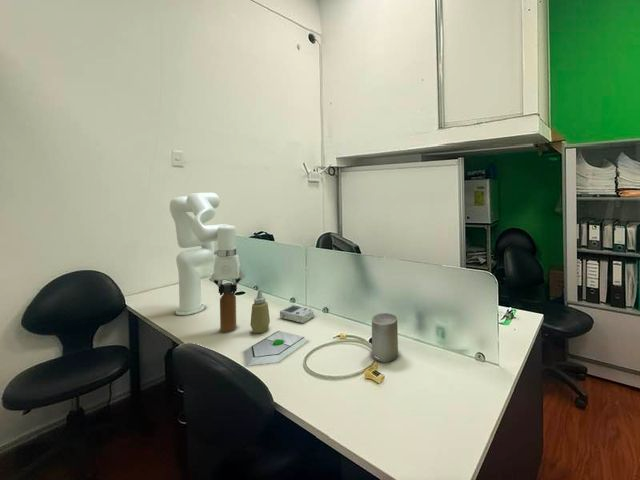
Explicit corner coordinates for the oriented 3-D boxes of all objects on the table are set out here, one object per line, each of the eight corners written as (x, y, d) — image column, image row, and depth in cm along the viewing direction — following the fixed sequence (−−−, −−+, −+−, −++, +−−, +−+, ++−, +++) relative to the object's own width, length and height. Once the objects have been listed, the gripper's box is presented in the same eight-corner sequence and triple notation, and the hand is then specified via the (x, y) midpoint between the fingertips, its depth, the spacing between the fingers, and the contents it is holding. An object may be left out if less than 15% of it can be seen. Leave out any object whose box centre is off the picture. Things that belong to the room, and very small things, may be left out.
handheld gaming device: (302, 324, 137) (302, 315, 137) (279, 318, 144) (279, 310, 144) (315, 317, 145) (315, 309, 145) (292, 311, 152) (292, 304, 152)
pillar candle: (394, 346, 116) (394, 308, 116) (400, 361, 106) (399, 319, 106) (370, 349, 114) (369, 310, 114) (373, 364, 105) (373, 321, 104)
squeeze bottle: (263, 335, 127) (262, 293, 127) (246, 334, 128) (245, 292, 128) (273, 327, 135) (273, 287, 134) (257, 325, 136) (257, 286, 136)
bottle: (222, 327, 135) (221, 283, 135) (237, 325, 137) (236, 282, 137) (218, 333, 129) (217, 288, 129) (234, 331, 131) (234, 286, 131)
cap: (221, 293, 131) (221, 285, 131) (225, 290, 135) (225, 282, 135) (230, 293, 131) (230, 285, 131) (234, 290, 135) (234, 282, 135)
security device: (230, 360, 108) (230, 354, 108) (276, 333, 129) (276, 328, 129) (264, 372, 101) (264, 366, 101) (307, 341, 121) (307, 336, 121)
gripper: (203, 256, 127) (204, 298, 127) (246, 253, 132) (246, 294, 132) (208, 252, 134) (209, 293, 134) (248, 250, 139) (249, 289, 139)
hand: (227, 293), depth 133 cm, fingers open, 4 cm apart
